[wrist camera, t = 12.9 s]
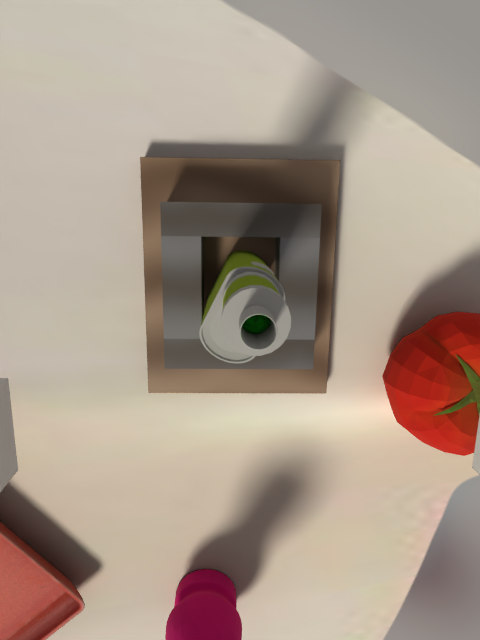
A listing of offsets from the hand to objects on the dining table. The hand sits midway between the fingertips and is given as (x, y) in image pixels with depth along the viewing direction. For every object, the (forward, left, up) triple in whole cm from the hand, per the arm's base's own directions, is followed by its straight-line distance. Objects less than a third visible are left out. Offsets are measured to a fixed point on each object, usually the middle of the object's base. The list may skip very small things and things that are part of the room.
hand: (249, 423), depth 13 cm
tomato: (-8, -19, -28) cm, 35 cm away
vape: (0, 0, -27) cm, 27 cm away
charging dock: (0, 0, -28) cm, 28 cm away
